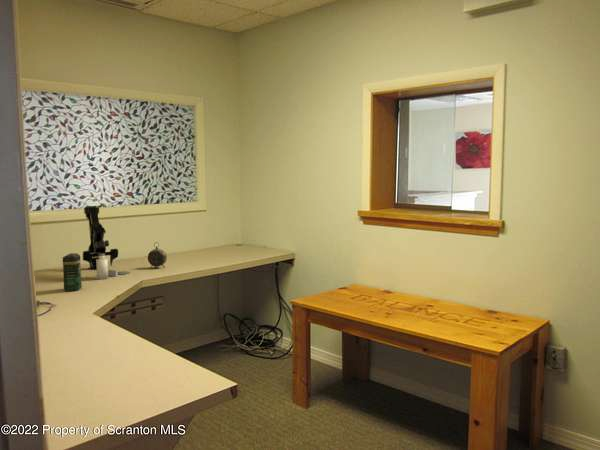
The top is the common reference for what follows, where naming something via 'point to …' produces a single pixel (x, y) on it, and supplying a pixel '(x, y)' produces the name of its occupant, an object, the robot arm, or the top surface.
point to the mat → (123, 272)
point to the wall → (112, 272)
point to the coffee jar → (72, 272)
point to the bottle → (102, 267)
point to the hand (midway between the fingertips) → (102, 266)
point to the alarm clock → (157, 257)
